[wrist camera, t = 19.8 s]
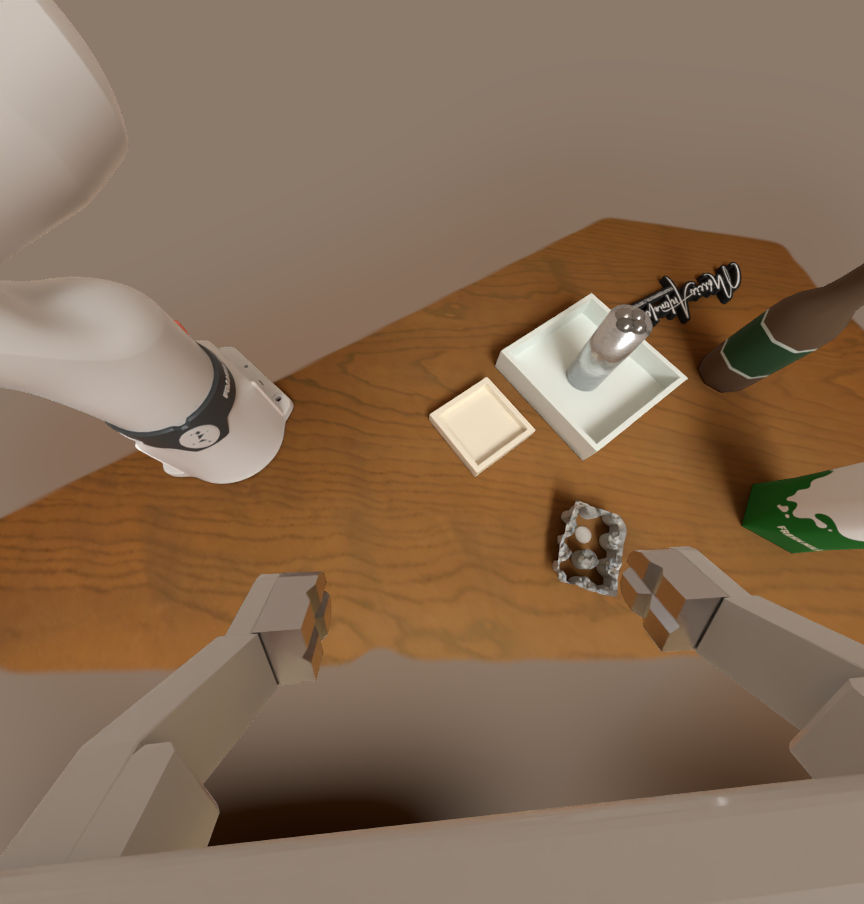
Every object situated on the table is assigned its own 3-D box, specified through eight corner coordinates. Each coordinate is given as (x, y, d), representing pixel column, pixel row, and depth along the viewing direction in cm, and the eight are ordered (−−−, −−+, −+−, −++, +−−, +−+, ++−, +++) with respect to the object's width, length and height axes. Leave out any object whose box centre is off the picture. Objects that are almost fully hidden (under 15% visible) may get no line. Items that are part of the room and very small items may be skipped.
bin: (495, 366, 51) (500, 350, 48) (580, 311, 56) (591, 293, 52) (582, 460, 46) (596, 451, 43) (668, 391, 51) (687, 378, 47)
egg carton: (562, 501, 45) (575, 494, 41) (614, 520, 44) (633, 515, 40) (544, 576, 41) (557, 577, 37) (601, 598, 40) (620, 602, 37)
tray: (429, 420, 48) (429, 414, 46) (484, 383, 50) (486, 376, 48) (474, 477, 45) (477, 473, 43) (530, 435, 48) (535, 430, 46)
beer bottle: (686, 367, 53) (885, 220, 30) (717, 347, 54) (928, 194, 32) (722, 402, 51) (965, 273, 28) (753, 381, 52) (1006, 243, 30)
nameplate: (719, 248, 61) (759, 283, 58) (712, 255, 63) (751, 290, 60) (613, 300, 56) (652, 341, 53) (608, 306, 57) (646, 347, 54)
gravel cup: (559, 373, 50) (603, 312, 38) (582, 356, 52) (632, 292, 40) (583, 397, 49) (637, 342, 37) (607, 380, 50) (666, 320, 38)
